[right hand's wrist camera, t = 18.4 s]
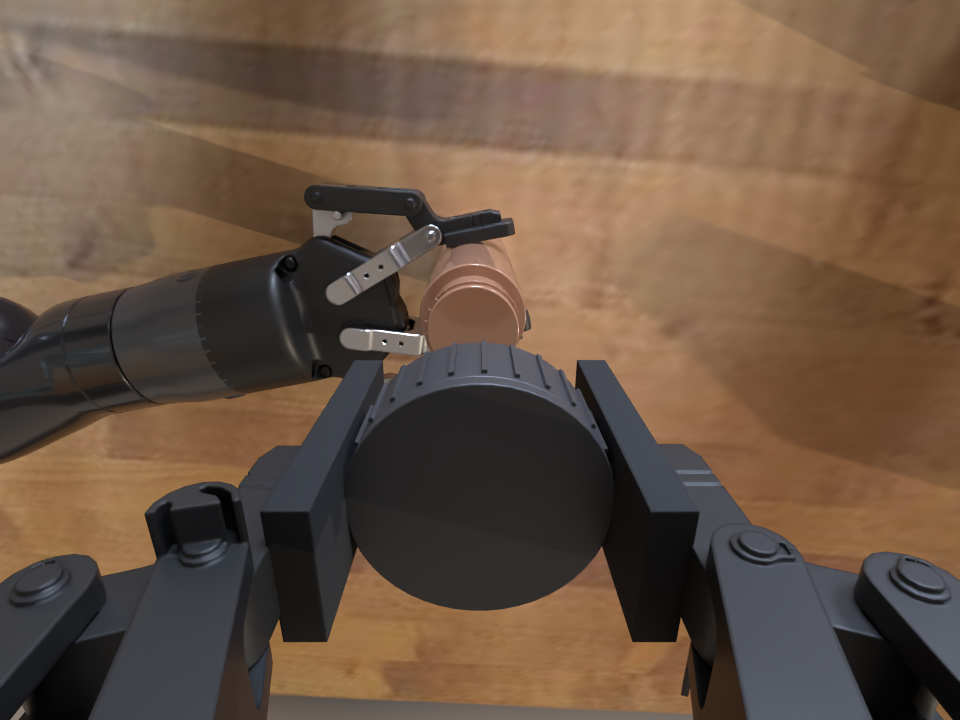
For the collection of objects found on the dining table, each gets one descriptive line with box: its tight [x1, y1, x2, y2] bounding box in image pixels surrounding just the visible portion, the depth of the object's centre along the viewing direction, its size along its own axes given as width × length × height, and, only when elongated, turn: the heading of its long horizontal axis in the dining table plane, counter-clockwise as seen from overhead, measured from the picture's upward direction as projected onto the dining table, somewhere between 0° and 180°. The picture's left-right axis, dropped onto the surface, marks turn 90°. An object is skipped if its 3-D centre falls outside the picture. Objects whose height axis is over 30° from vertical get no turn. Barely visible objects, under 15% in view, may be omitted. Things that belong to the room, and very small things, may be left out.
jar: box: [420, 238, 526, 352], centre depth 28 cm, size 5×5×16 cm
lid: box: [345, 340, 615, 611], centre depth 11 cm, size 6×6×2 cm
